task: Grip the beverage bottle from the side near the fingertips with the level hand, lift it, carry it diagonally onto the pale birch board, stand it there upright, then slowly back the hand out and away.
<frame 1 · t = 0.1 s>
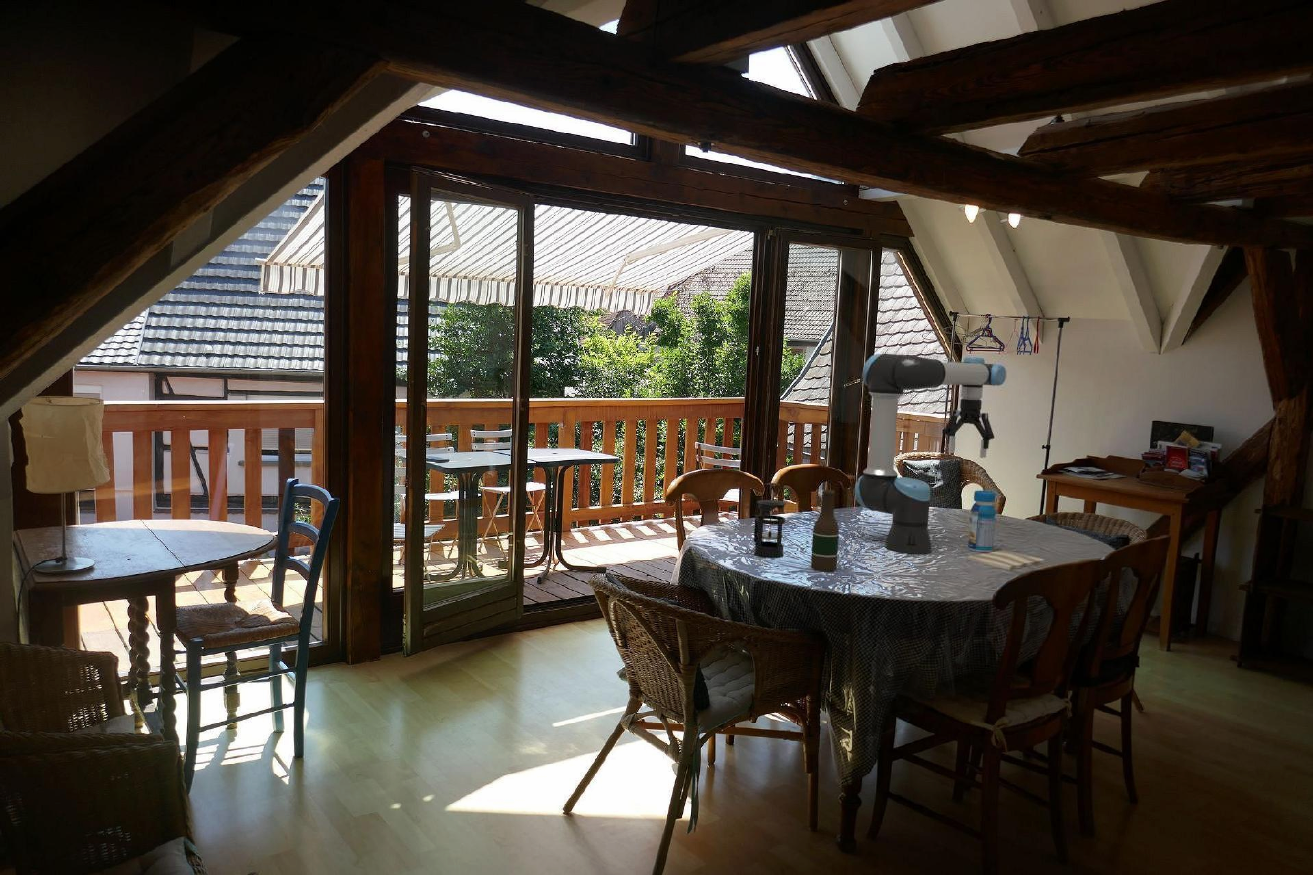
hand: (966, 455, 358), 28 cm above the table, tool pointing down, fingers open, 13 cm apart
black lantern: (767, 555, 304), on the table
beverage bottle: (980, 550, 324), on the table
beer bottle: (823, 569, 288), on the table
birch board: (1005, 561, 309), on the table
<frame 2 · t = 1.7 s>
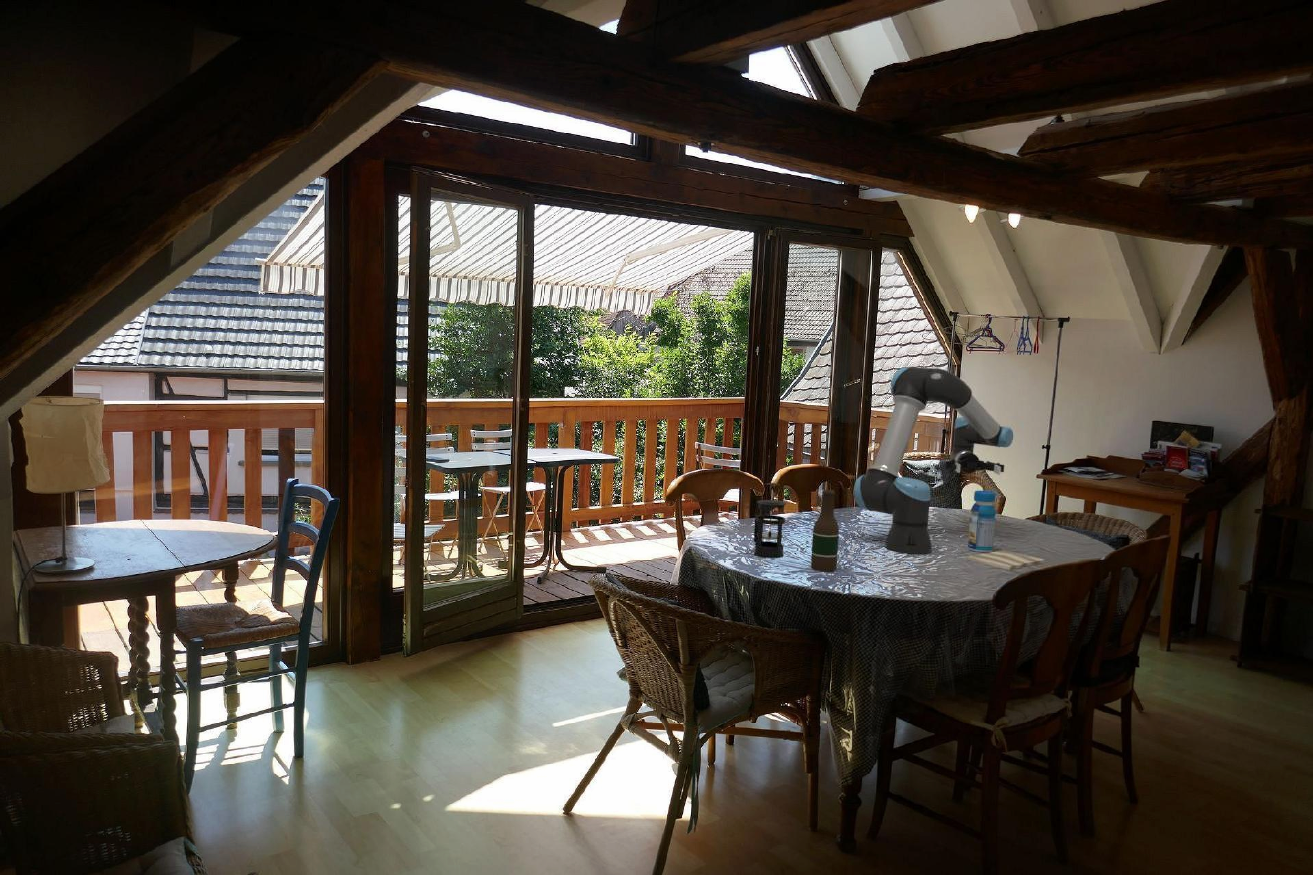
hand: (979, 469, 333), 26 cm above the table, tool horizontal, fingers open, 13 cm apart
nothing on the table moved.
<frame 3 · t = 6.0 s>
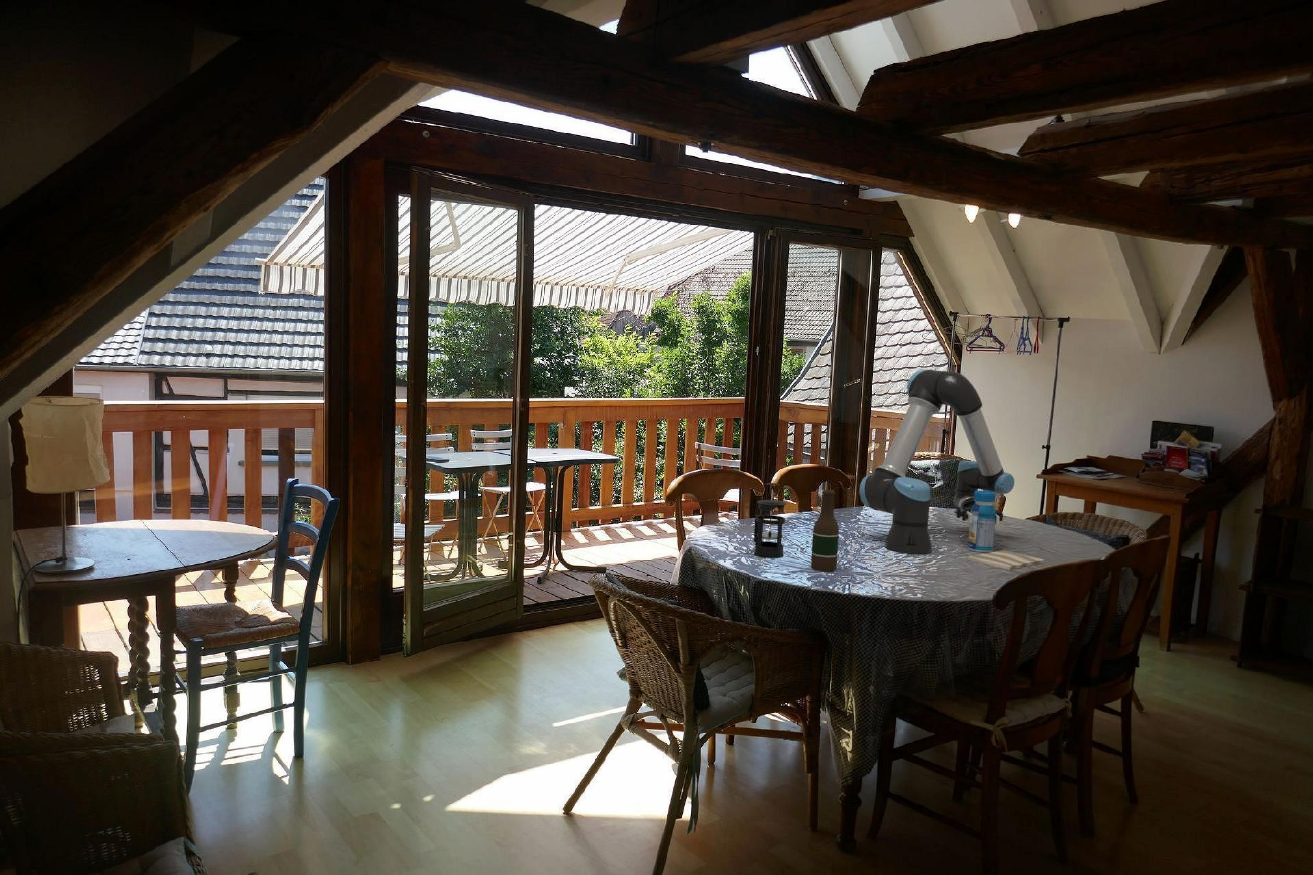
hand: (984, 519, 320), 11 cm above the table, tool horizontal, fingers closed on beverage bottle, 8 cm apart
beverage bottle: (980, 550, 324), on the table, touching gripper
everything else where it was.
when the fingers open (12 cm above the table, at t = 14.0 s): beverage bottle stays where it is, resting on birch board.
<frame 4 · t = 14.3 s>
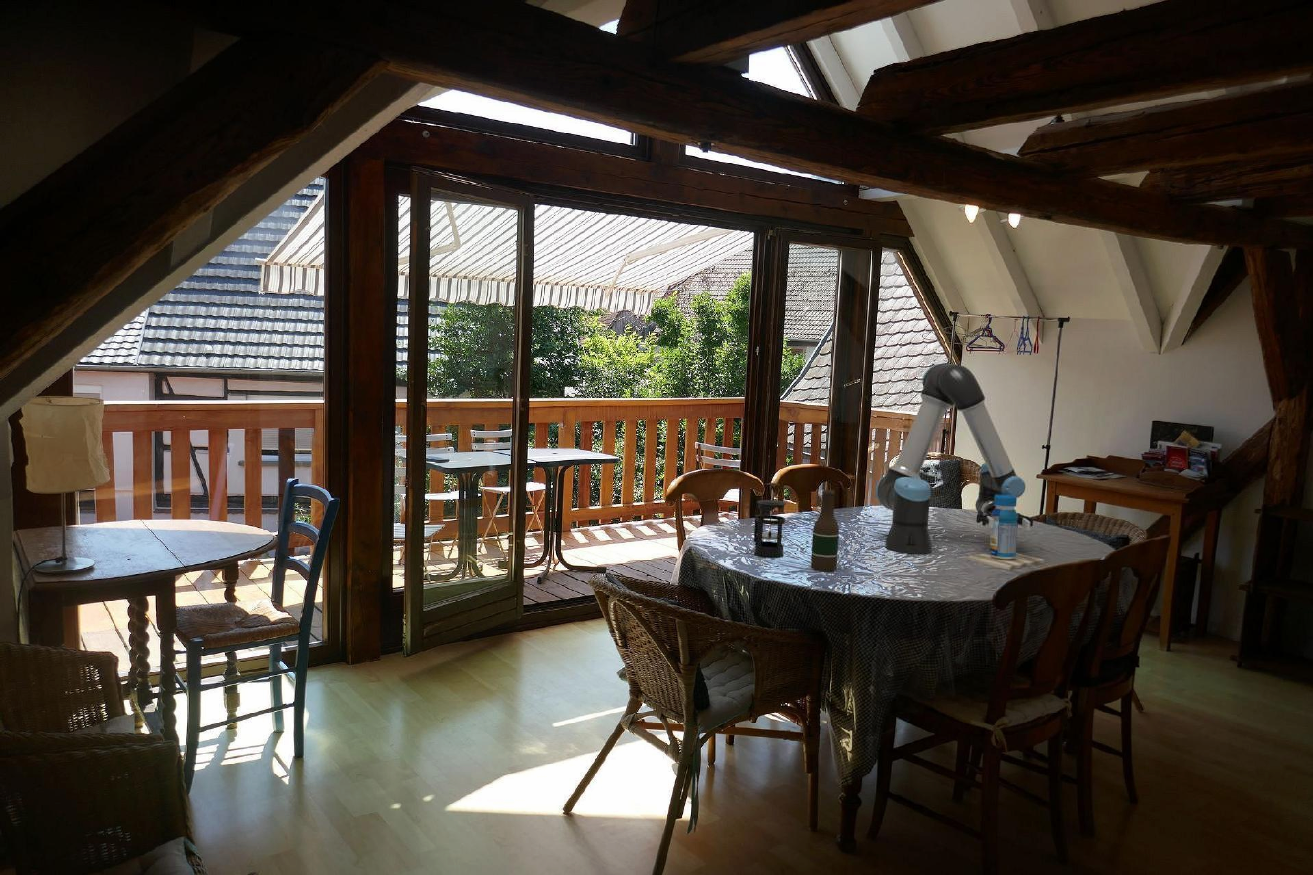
hand: (1010, 525, 306), 12 cm above the table, tool horizontal, fingers open, 10 cm apart
beverage bottle: (1002, 557, 309), point 1 cm above the table, touching birch board, gripper
everything else where it was.
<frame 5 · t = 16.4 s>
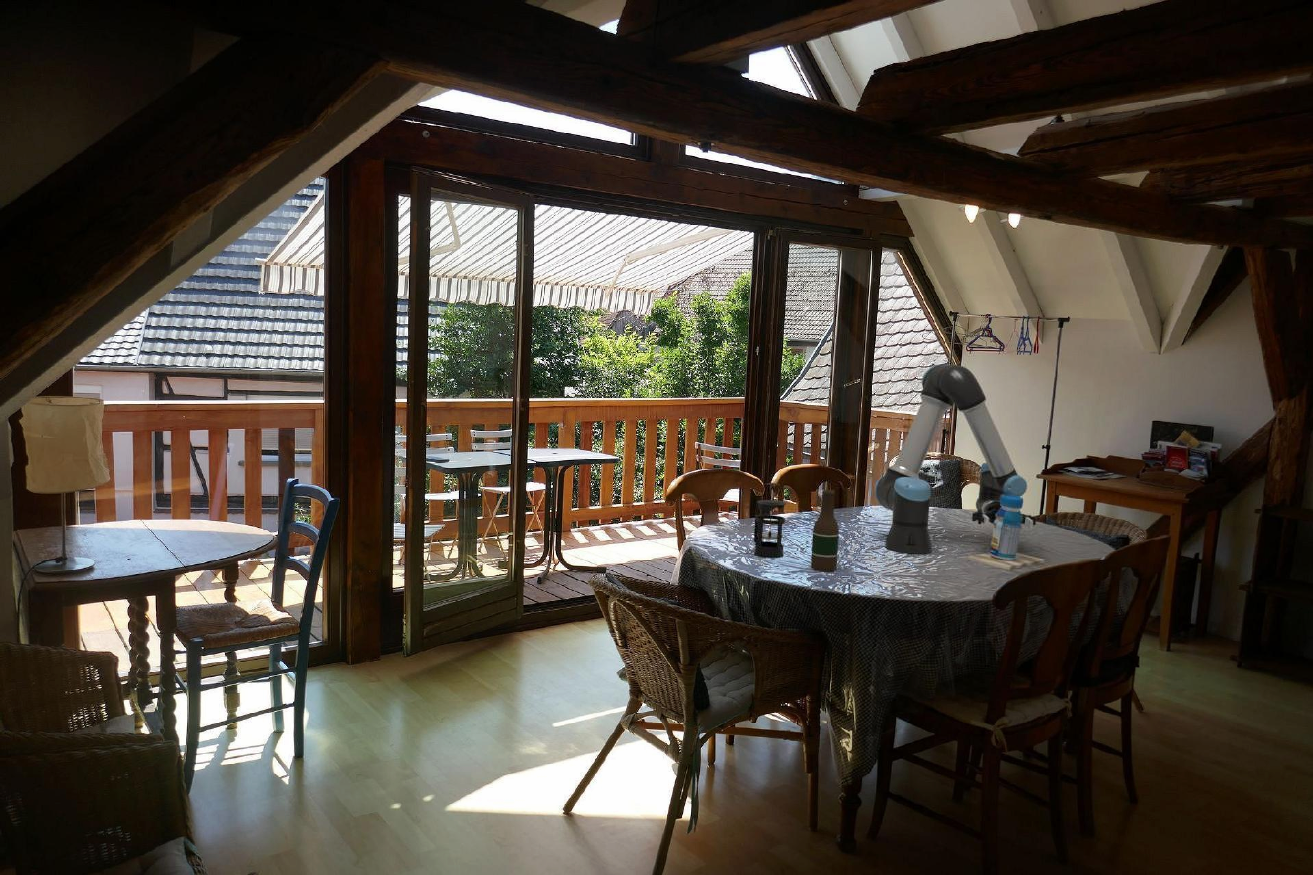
hand: (1009, 523, 308), 12 cm above the table, tool horizontal, fingers open, 13 cm apart
beverage bottle: (1002, 557, 309), point 1 cm above the table, touching birch board
everything else where it was.
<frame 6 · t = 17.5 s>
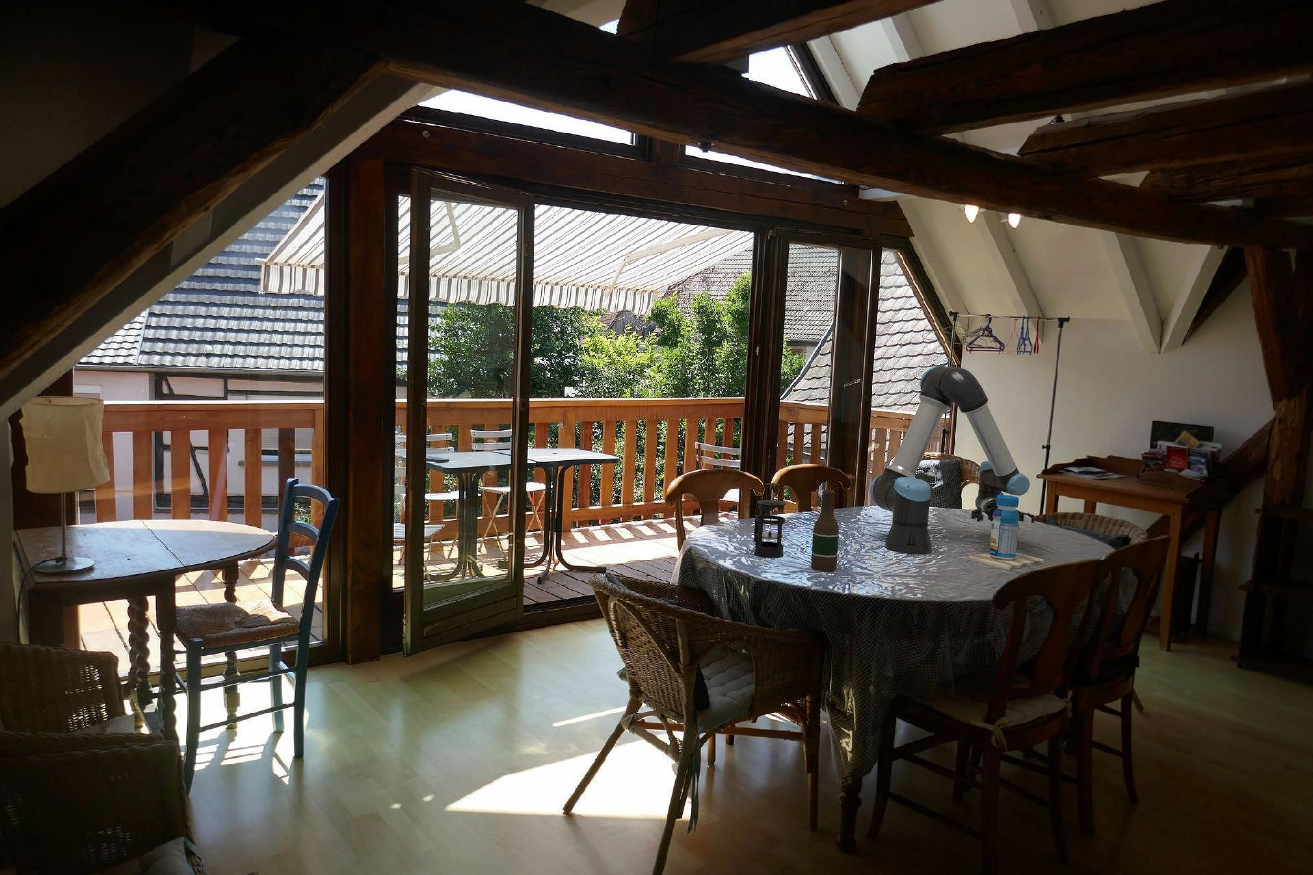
hand: (1008, 521, 311), 12 cm above the table, tool horizontal, fingers open, 13 cm apart
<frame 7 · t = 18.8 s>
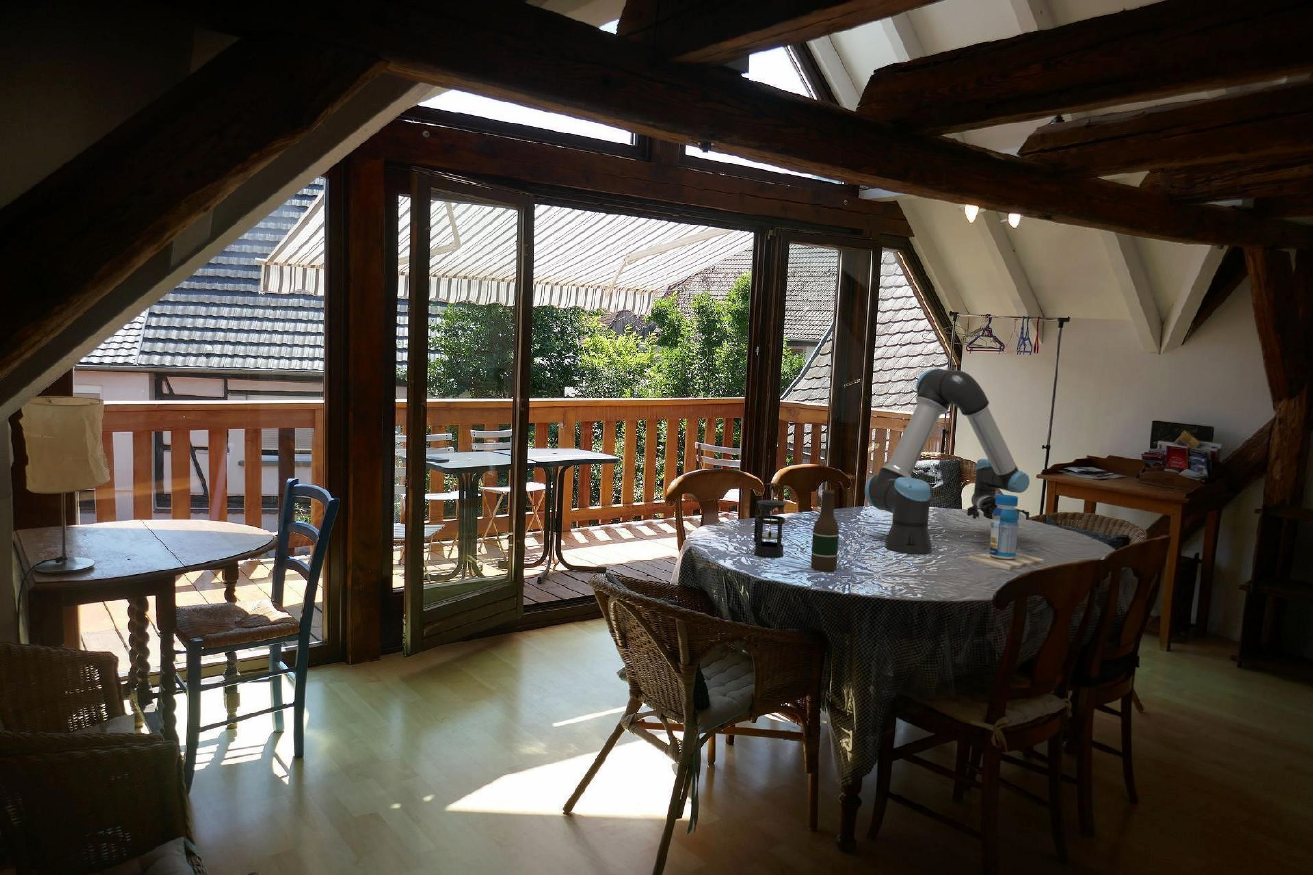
hand: (1003, 518, 317), 12 cm above the table, tool horizontal, fingers open, 13 cm apart
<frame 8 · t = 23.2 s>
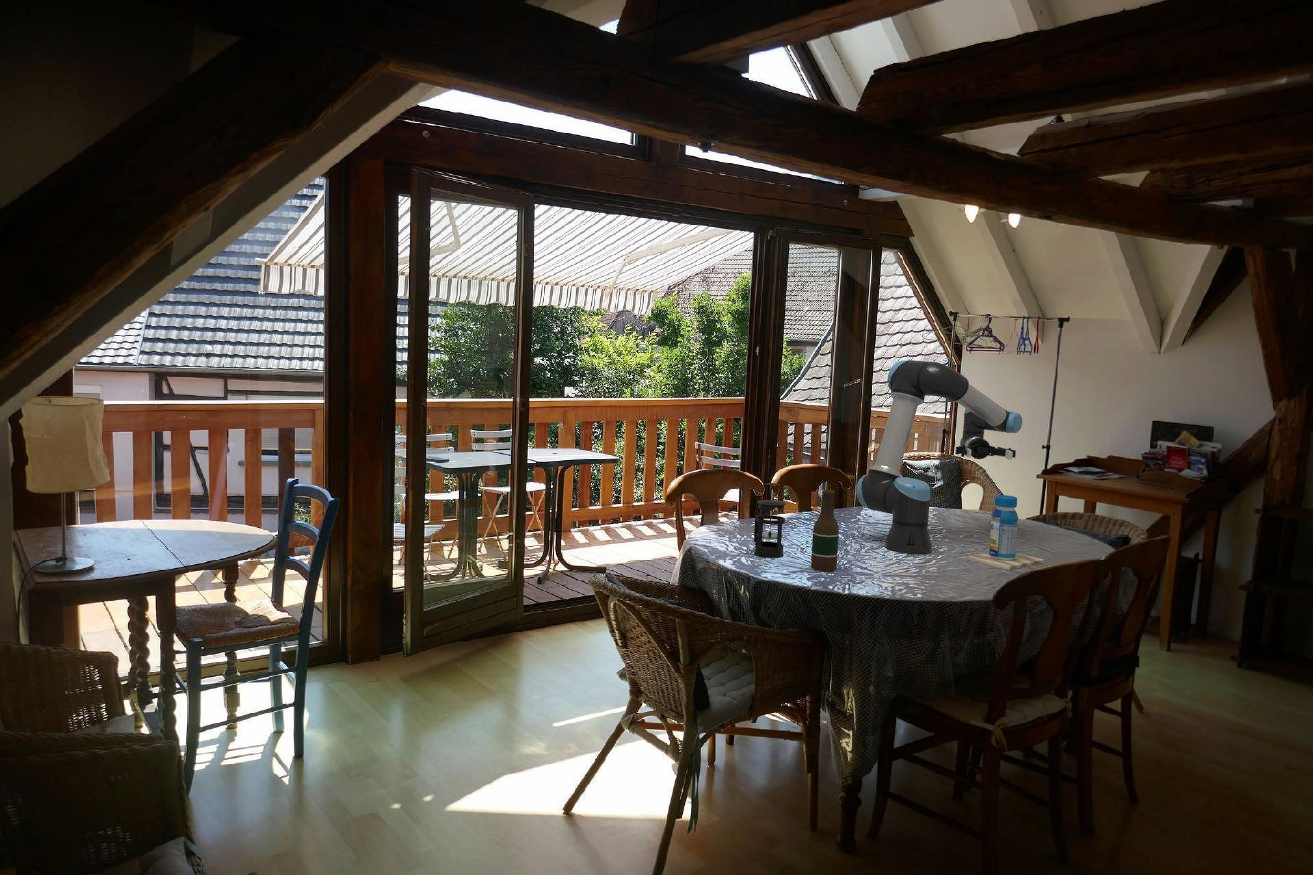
hand: (990, 454, 326), 32 cm above the table, tool horizontal, fingers open, 13 cm apart
at the end: beverage bottle inside the target area on the birch board (1.2 cm from its centre), point 0.9 cm above the birch board's base; beverage bottle tilted 1°; the gripper is holding nothing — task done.
